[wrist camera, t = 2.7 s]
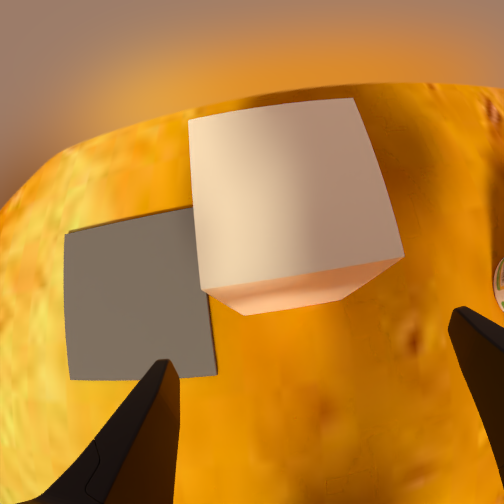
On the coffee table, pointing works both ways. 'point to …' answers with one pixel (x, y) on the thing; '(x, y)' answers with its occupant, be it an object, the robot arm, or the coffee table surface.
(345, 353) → the coffee table surface
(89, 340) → the mat
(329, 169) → the white boxy piece
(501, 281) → the supplement bottle
